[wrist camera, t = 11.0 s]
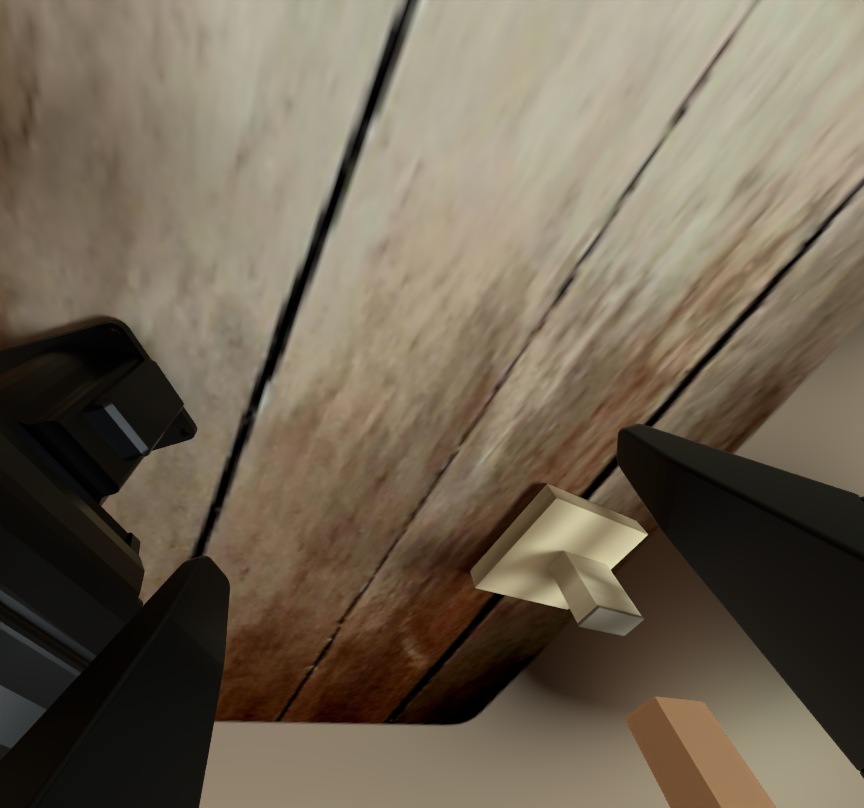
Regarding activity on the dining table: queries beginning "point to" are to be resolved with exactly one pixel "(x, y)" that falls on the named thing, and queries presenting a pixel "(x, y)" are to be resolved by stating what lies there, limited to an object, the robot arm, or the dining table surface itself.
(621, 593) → the cream square base plate
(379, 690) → the dining table surface
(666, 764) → the peach rectangular post
